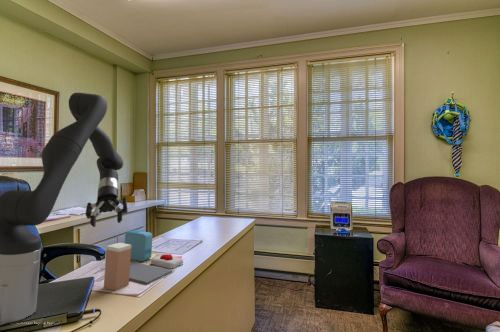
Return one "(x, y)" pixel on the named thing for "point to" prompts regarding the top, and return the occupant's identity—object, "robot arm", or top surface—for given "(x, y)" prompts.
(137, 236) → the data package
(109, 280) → the block
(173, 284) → the top surface
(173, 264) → the red push button
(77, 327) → the top surface
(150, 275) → the mat
